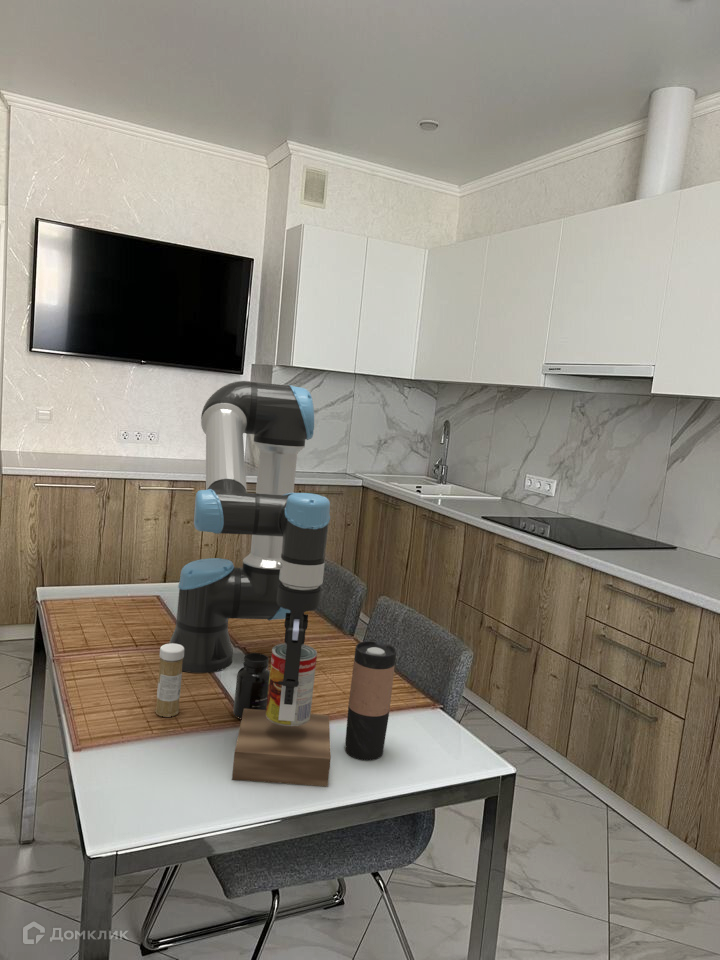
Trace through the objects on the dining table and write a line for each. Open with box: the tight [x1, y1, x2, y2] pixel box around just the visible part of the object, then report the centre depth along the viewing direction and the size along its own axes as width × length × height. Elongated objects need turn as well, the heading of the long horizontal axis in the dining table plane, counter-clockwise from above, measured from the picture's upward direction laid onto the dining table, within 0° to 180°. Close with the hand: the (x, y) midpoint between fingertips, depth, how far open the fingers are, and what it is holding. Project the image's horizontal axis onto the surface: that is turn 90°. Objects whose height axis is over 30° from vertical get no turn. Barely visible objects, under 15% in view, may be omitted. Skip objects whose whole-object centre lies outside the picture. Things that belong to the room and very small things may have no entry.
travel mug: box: [344, 640, 397, 761], centre depth 137 cm, size 8×8×20 cm
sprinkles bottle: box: [154, 643, 184, 718], centre depth 143 cm, size 5×5×13 cm
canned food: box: [266, 642, 318, 726], centre depth 130 cm, size 8×8×12 cm
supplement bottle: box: [232, 652, 270, 720], centre depth 147 cm, size 7×7×12 cm
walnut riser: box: [231, 709, 332, 787], centre depth 132 cm, size 16×16×5 cm
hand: (287, 708), depth 131 cm, fingers closed on canned food, 8 cm apart
